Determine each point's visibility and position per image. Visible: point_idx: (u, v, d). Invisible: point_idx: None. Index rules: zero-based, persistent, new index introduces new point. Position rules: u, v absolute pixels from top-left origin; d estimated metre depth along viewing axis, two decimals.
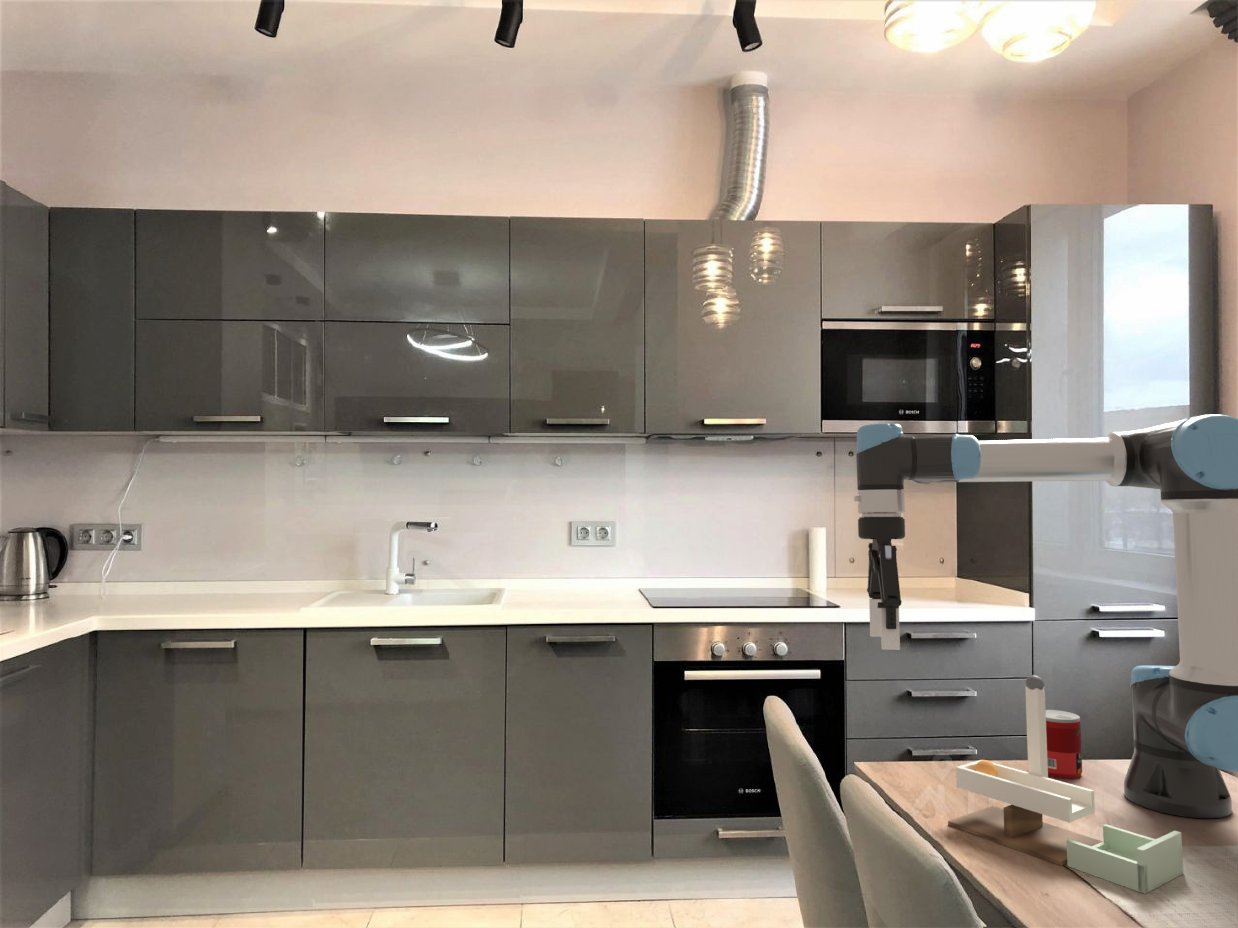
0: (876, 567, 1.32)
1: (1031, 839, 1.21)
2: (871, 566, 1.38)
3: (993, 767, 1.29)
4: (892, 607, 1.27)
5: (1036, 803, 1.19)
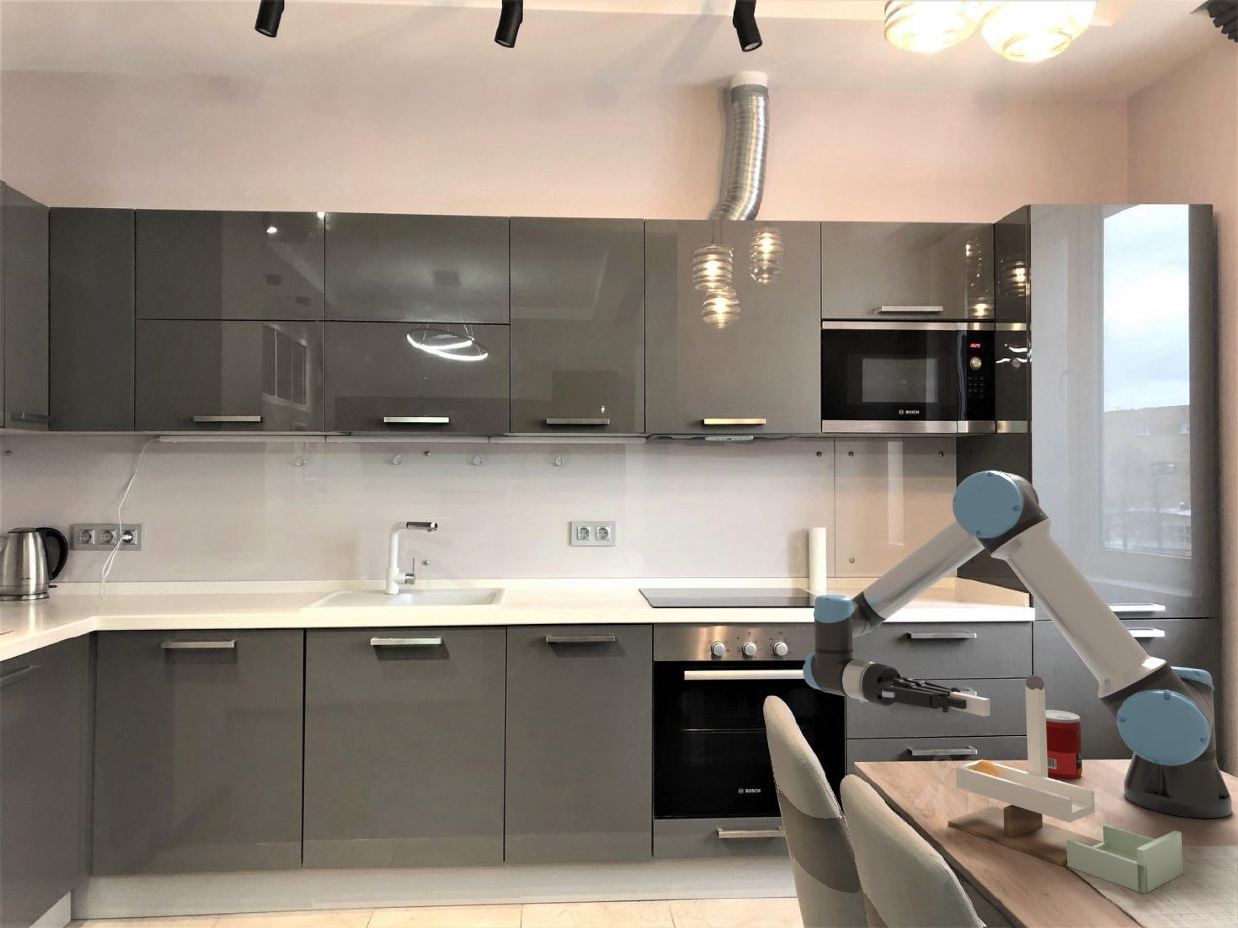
0: None
1: (1031, 839, 1.21)
2: None
3: (993, 767, 1.29)
4: (942, 700, 1.39)
5: (1036, 803, 1.19)
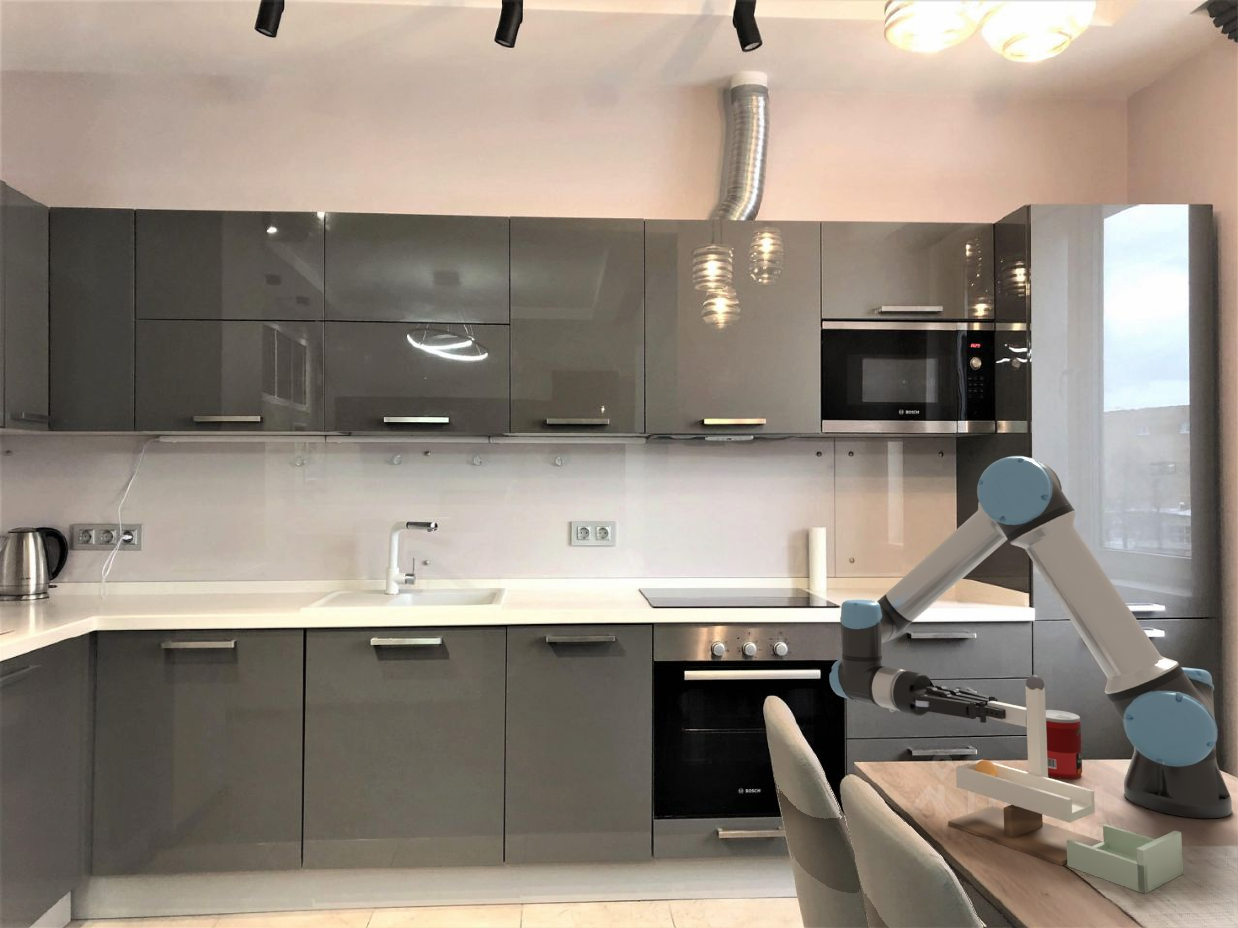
0: None
1: (1031, 839, 1.21)
2: None
3: (993, 767, 1.29)
4: (980, 710, 1.33)
5: (1036, 803, 1.19)
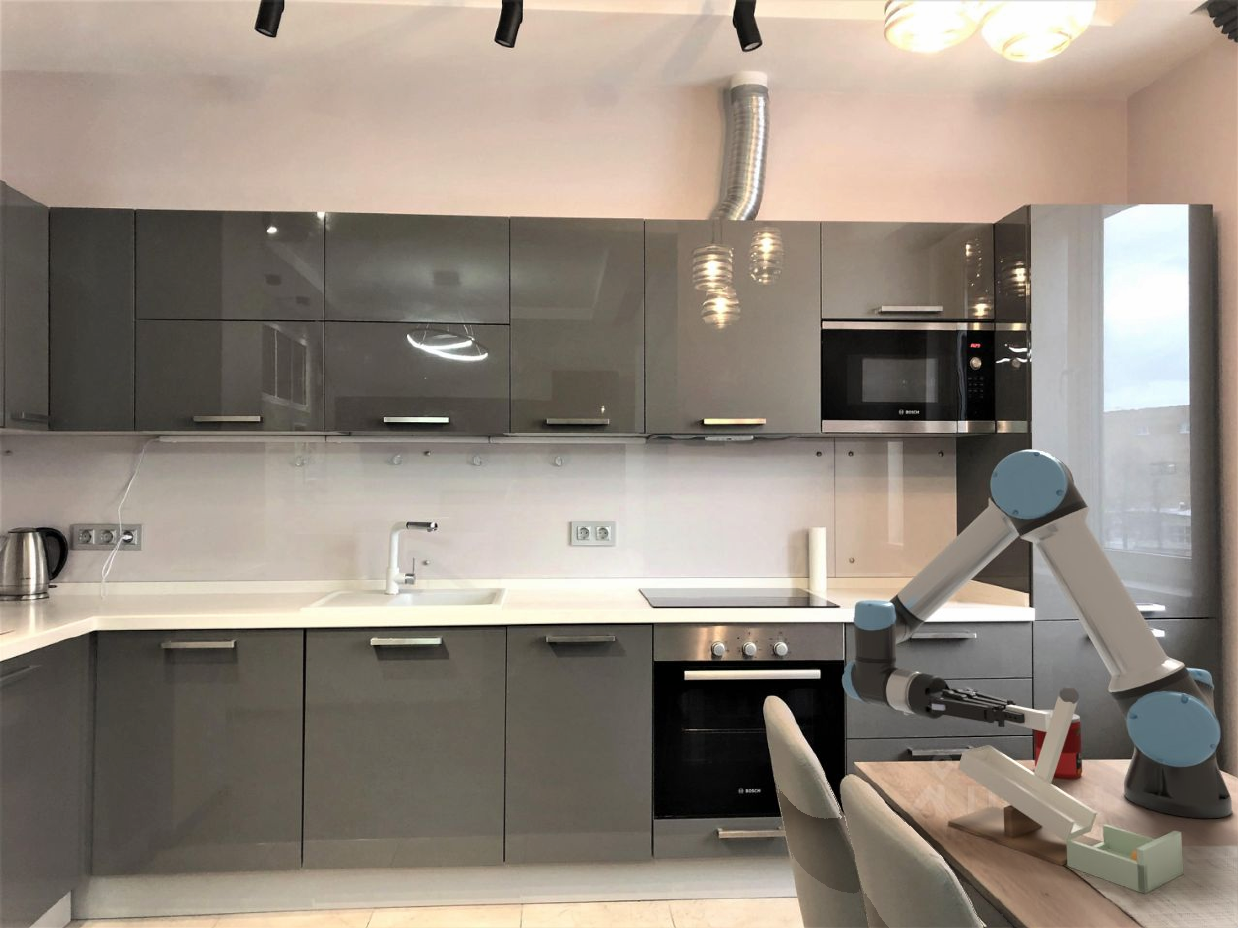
0: None
1: (1031, 839, 1.21)
2: None
3: None
4: (998, 714, 1.30)
5: (1036, 813, 1.19)
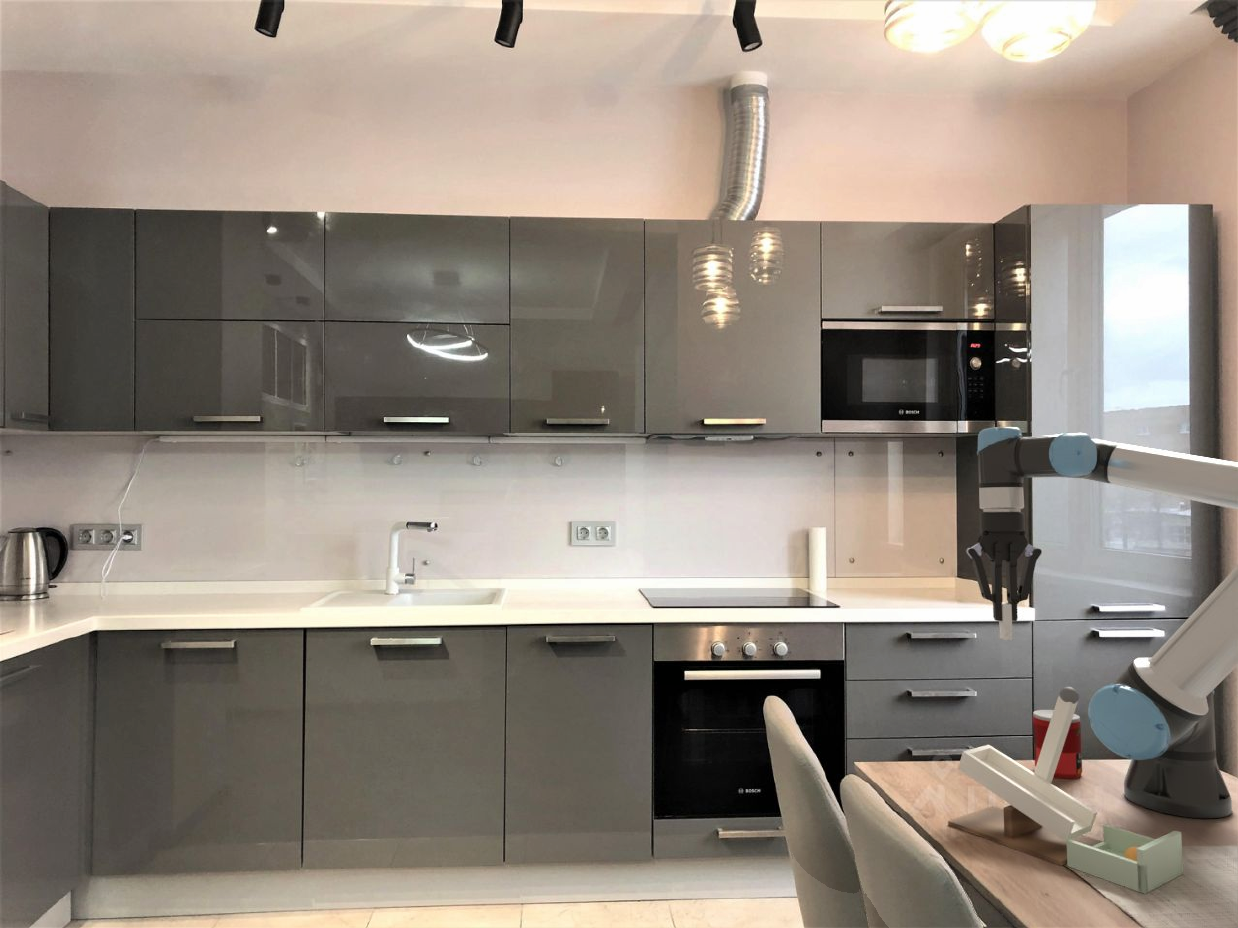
0: (990, 562, 1.51)
1: (1031, 839, 1.21)
2: None
3: None
4: None
5: (1036, 813, 1.19)
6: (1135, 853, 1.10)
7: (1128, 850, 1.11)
